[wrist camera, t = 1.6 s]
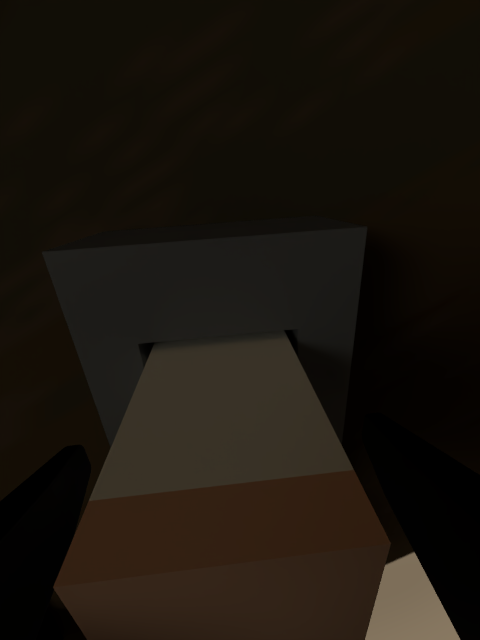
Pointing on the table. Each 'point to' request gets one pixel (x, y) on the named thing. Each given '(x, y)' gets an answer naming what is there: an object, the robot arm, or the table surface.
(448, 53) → the table surface
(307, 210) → the table surface
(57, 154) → the table surface
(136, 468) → the brown rectangular block
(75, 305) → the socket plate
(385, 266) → the table surface
